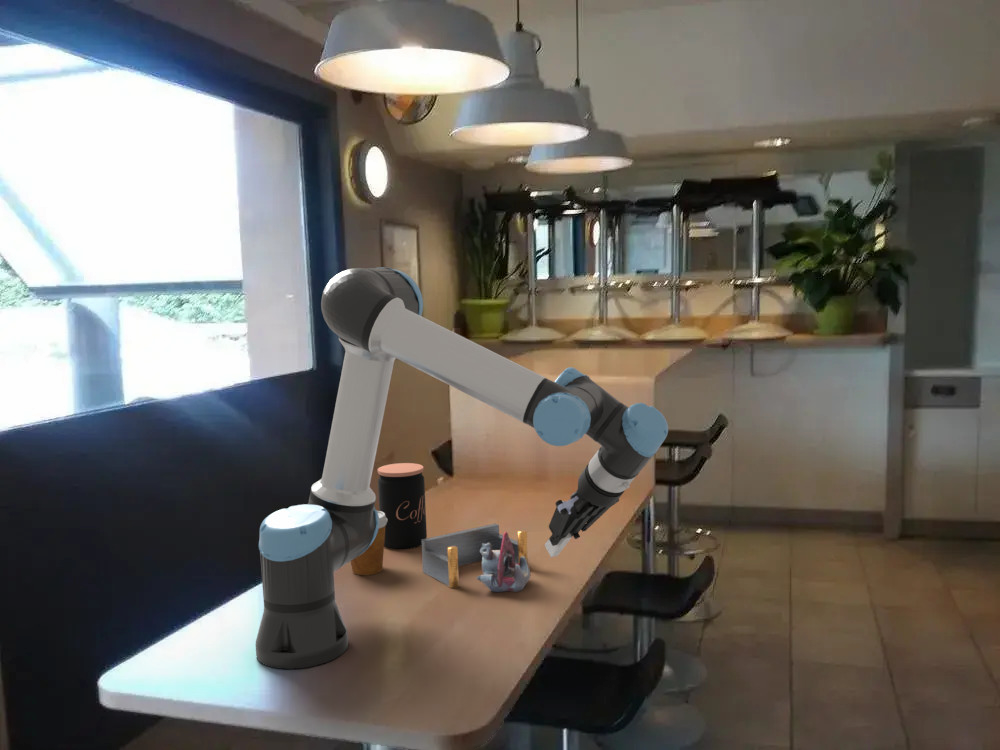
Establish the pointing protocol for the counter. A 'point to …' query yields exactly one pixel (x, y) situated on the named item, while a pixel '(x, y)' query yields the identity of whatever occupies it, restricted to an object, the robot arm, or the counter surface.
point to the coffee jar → (403, 504)
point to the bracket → (464, 551)
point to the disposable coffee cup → (372, 552)
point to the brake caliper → (503, 568)
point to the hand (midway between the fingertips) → (550, 550)
